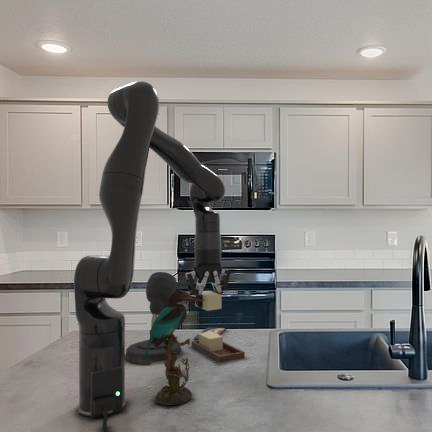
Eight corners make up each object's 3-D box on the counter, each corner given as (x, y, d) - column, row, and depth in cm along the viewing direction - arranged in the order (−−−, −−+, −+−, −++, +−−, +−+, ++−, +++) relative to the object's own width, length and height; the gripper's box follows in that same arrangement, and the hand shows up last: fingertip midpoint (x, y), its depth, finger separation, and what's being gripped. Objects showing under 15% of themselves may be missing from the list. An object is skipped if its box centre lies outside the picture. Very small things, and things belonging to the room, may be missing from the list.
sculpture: (202, 407, 98) (202, 293, 98) (139, 406, 99) (139, 292, 99) (211, 392, 106) (211, 287, 106) (153, 391, 107) (153, 286, 107)
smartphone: (226, 328, 164) (214, 339, 149) (226, 330, 164) (214, 342, 149) (206, 327, 165) (192, 338, 150) (206, 329, 165) (192, 340, 150)
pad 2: (222, 349, 139) (222, 336, 139) (209, 352, 136) (209, 339, 136) (211, 343, 146) (211, 331, 146) (198, 345, 143) (198, 333, 143)
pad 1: (221, 308, 128) (221, 294, 128) (207, 310, 125) (207, 296, 125) (209, 304, 134) (209, 290, 134) (195, 305, 132) (195, 292, 132)
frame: (244, 358, 132) (244, 352, 132) (219, 364, 127) (219, 357, 127) (214, 343, 148) (214, 337, 148) (191, 347, 143) (191, 341, 143)
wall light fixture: (189, 270, 148) (173, 275, 128) (189, 346, 147) (172, 364, 127) (142, 270, 148) (118, 275, 128) (141, 346, 147) (117, 363, 127)
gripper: (190, 249, 122) (190, 312, 123) (236, 246, 131) (236, 305, 131) (179, 247, 128) (179, 307, 129) (223, 245, 137) (224, 301, 137)
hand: (208, 306), depth 130 cm, fingers closed on pad 1, 4 cm apart
